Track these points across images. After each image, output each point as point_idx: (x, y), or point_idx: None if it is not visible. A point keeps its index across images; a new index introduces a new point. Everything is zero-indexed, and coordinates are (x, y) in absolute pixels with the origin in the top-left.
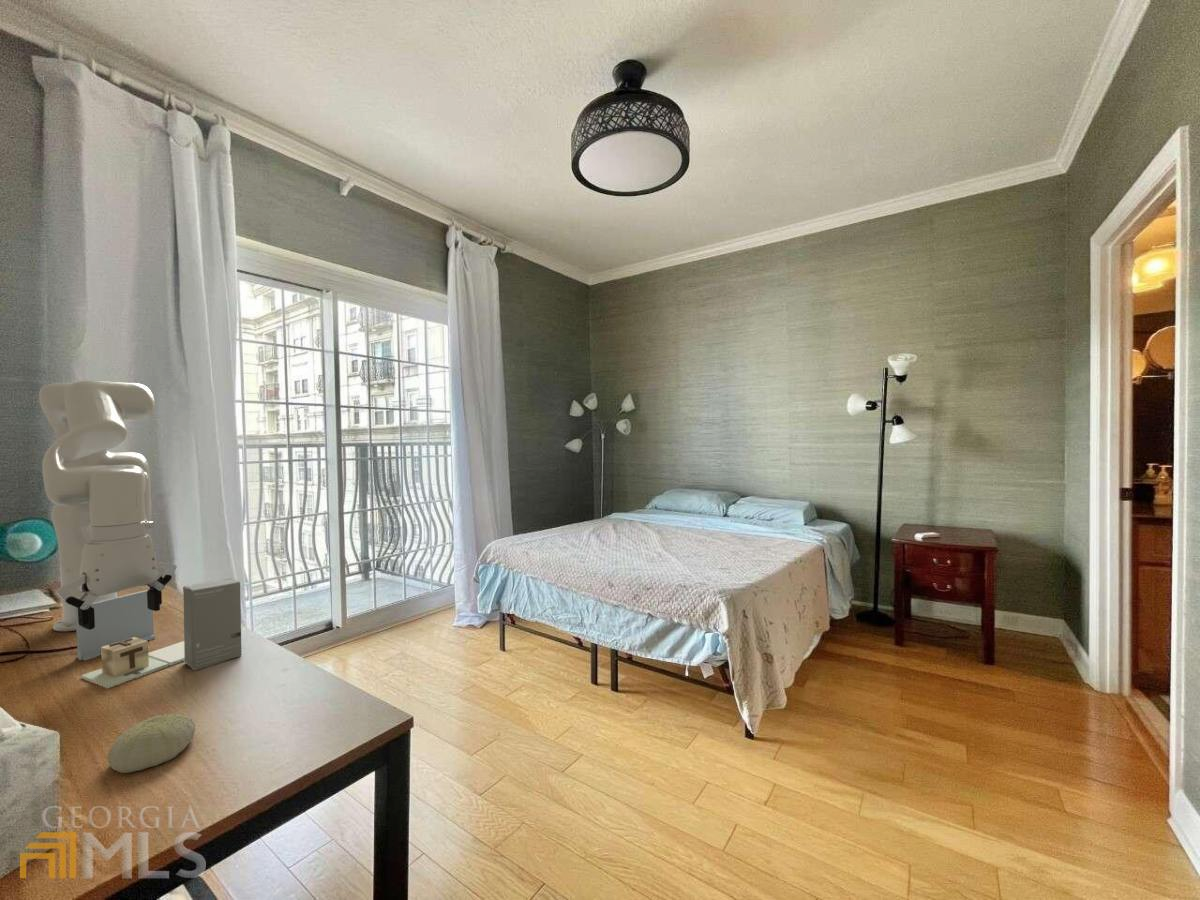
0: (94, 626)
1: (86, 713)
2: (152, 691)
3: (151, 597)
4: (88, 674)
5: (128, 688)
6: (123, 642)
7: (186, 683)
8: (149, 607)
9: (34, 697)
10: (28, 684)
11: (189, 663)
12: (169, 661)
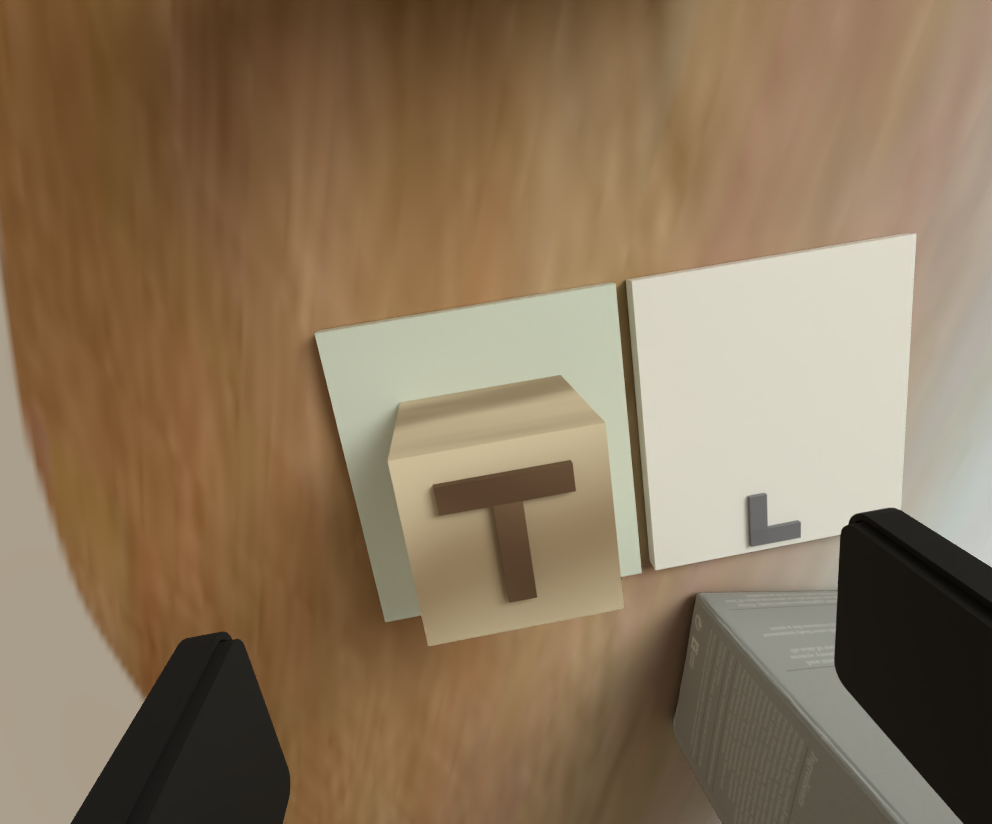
0: (284, 804)
1: (290, 797)
2: (501, 787)
3: (982, 755)
4: (344, 356)
5: (448, 680)
6: (512, 523)
7: (604, 812)
8: (855, 574)
9: (117, 413)
10: (74, 121)
11: (686, 695)
12: (656, 546)
